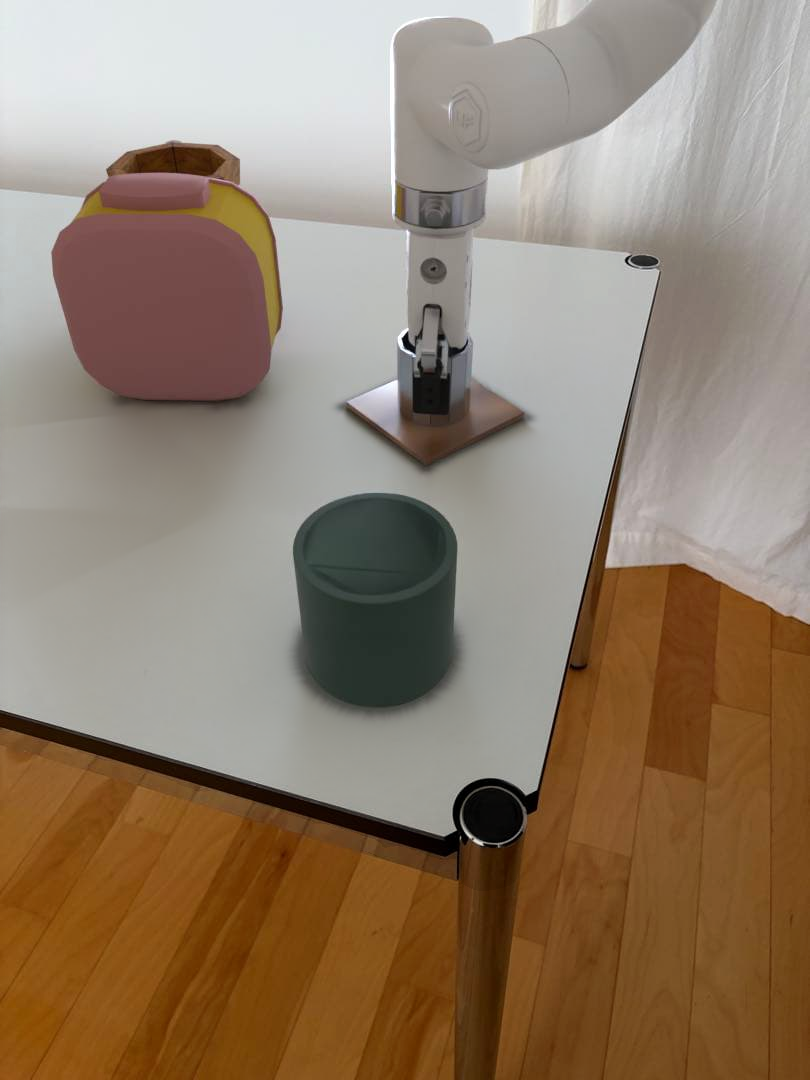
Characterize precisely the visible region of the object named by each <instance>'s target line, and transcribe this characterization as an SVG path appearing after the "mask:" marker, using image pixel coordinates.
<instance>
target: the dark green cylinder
mask: <svg viewBox="0 0 810 1080" xmlns="http://www.w3.org/2000/svg"><path fill="white" fill-rule="evenodd" d="M292 558H293V565H294V574H295V583H296V592H297V599H298V600H297V601H298V609H299V617H300V626H301V633H302V641H303V650H304V651H303V652H304V658H305V662H306V666H307V669H308V671H309V673H310V675H311V676H312V678H313V679H314V681H315V682H316V683H317V684H318V685H319V686H320V687H321V688H322V689H323V690H324V691H325V692H327V693H328V694H330V695H331V696H333V697H335V698H337V699H338V700H341V701H343V702H346V703H349V704H352V705H355V706H359V707H361V706H362V707H368V708H383V707H384V708H385V707H393V706H399V705H402V704H405V703H406V704H407V703H409V702H411V701H414V700H415V699H418V698H420V697H421V696H424V695H425V694H427V693H428V692H430V691H431V690H432V689H433V688H434V687H436V686H437V685H438V684H439V682H440V681H441V680H442V679H443V677H444V676H445V675H446V673H447V671H448V670H449V668H450V665H451V662H452V658H453V649H454V648H453V647H454V627H455V625H454V624H455V609H456V608H455V607H456V605H455V604H456V589H457V588H456V586H457V567H458V566H457V565H458V539H457V535H456V533H455V530H454V528H453V526H452V525H451V523H450V521H449V520H448V519H447V517H445V516H444V515H443V514H442V513H441V512H440V511H439V510H437V508H435V507H433V506H432V505H430V504H428V503H426V502H425V501H423V500H420V499H417V498H415V497H411V496H408V495H404V494H399V493H394V492H386V491H385V492H383V491H381V492H380V491H371V492H362V493H355V494H351V495H346V496H343V497H339V498H337V499H334V500H332V501H330V502H327V503H326V504H324V505H322V506H320V507H319V508H317V509H316V510H314V511H313V512H312V513H311V514H310V515H309V516H307V517H306V519H305V520H304V521H303V522H302V523H301V525H300V526H299V527H298V530H297V531H296V534H295V536H294V539H293V544H292Z"/></svg>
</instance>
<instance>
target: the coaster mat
mask: <svg viewBox="0 0 810 1080" xmlns="http://www.w3.org/2000/svg"><path fill="white" fill-rule="evenodd" d="M345 406H346V408H347V409H348V410H350V411H351V412H353V413H354V414H355V415H357V416H358V417H359V418H360V419H362V420H363V421H365V422H366V423H368V425H370V426H372V428H374V429H375V430H377V431H378V432H379V433H381V434H382V435H383V436H385V437H386V438H387V439H390V440H391V441H392V442H393V443H394V444H396V445H397V446H398V447H400V448H401V449H402V450H404V451H405V452H407V453H408V454H409V455H411V456H412V457H413V458H415V459H416V461H419V462H420V463H421V464H422V465H424V466H425V467H428V466H429V465H432V464H434V463H436V462H438V461H439V460H442V459H443V458H445V457H448V456H450V455H451V454H454V453H455V452H457V451H459V450H461V449H463V448H465V447H467V446H469V445H471V444H473V443H475V442H477V441H479V440H481V439H484V438H486V437H488V436H489V435H491V434H494V433H496V432H498V431H499V430H502V429H504V428H505V427H507V426H509V425H511V424H514V423H515V422H518V421H519V420H521V419H523V418H524V417H525V412H524V411H523V410H521V409H520V408H519V407H517V406H515V405H514V404H512V403H510V402H509V401H507V400H506V399H504V398H502V397H501V396H500V395H498V394H497V393H495V392H493V391H491V390H490V389H488V388H487V387H485V386H483V385H482V384H481V383H479V382H478V381H475V380H474V379H473V378H471V392H470V407H469V409H468V412H467V414H466V415H465V416H464V417H463V418H462V419H461V420H459V421H458V422H455V423H453V424H450V425H446V426H437V427H431V426H423V425H419V424H416V423H413V422H411V421H409V420H407V419H406V418H405V417H404V416H403V415H402V414H401V413H400V410H399V405H398V378H396V379H395V380H393V381H391V382H389V383H386V384H384V385H381V386H379V387H377V388H374V389H372V390H370V391H368V392H365V393H363V394H361V395H358V396H356V397H354V398H351V399H349V400H347V401H345Z"/></svg>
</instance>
